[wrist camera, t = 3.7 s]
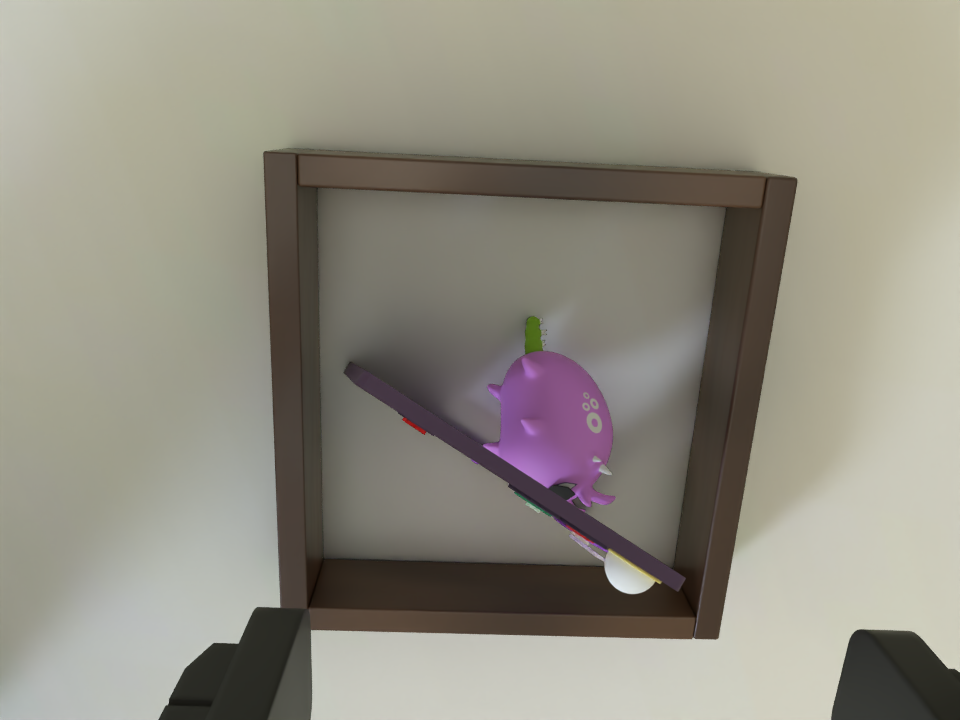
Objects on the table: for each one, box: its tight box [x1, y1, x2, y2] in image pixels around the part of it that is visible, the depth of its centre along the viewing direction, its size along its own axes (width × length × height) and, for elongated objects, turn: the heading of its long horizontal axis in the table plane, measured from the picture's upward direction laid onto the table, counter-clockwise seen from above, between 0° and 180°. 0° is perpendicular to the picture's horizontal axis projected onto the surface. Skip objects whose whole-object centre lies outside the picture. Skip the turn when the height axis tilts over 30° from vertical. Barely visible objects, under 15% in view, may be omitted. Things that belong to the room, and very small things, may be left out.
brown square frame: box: [263, 148, 797, 639], centre depth 21 cm, size 13×14×3 cm
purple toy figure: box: [343, 316, 686, 594], centre depth 20 cm, size 7×5×9 cm
